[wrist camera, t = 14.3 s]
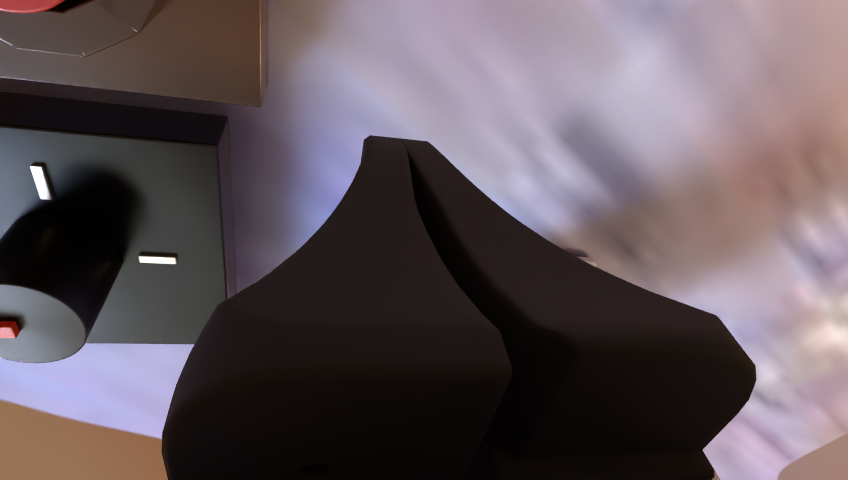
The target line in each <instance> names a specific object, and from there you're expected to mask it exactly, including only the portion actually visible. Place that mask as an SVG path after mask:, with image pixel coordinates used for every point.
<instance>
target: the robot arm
mask: <svg viewBox="0 0 848 480" xmlns="http://www.w3.org/2000/svg"><path fill="white" fill-rule="evenodd" d="M755 382H756V368H755V364H754V363H753V362H752V360H751V359H750V358H749V357H748V355H747V354H746V353H745V351H744V350H743V349H742V347H741V346H740V345H739V344H738V342H737V341H736V340H735V338H734V337H733V336H732V334H731V333H730V332H729V330H728V329H727V328H726V327H725V325H724V324H723V323H722V321H721V320H720V319H719V318H718V317H717V316H716V315H714V314H711V313H708V312H705V311H702V310H700V309H697V308H694V307H691V306H689V305H686V304H683V303H680V302H678V301H675V300H672V299H669V298H667V297H664V296H661V295H658V294H656V293H653V292H650V291H648V290H646V289H643V288H641V287H639V286H636V285H634V284H632V283H630V282H627V281H625V280H623V279H620V278H618V277H616V276H614V275H611V274H609V273H607V272H605V271H603V270H601V269H599V268H597V264H596V262H595V260H594V259H593V258H590V257H576V256H574V255H572V254H571V253H569V252H567V251H565V250H563V249H561V248H560V247H558V246H556V245H555V244H553V243H551V242H550V241H548V240H546V239H545V238H543V237H542V236H540V235H539V234H537V233H536V232H534V231H533V230H531V229H530V228H528V227H527V226H525V225H524V224H522V223H521V222H519V221H518V220H517V219H515V218H514V217H512V216H511V215H510V214H508V213H507V212H506V211H505V210H503V209H502V208H501V207H500V206H499V205H497V204H496V203H495V202H494V201H492V200H491V199H490V198H489V197H487V196H486V195H485V194H484V193H483V192H482V191H481V190H479V189H478V188H477V187H476V186H475V185H474V184H473V183H472V182H471V181H469V180H468V179H467V178H466V177H465V176H464V175H463V174H462V173H461V172H460V171H459V170H458V169H457V168H456V167H455V166H454V165H453V164H452V163H450V162H449V161H448V160H447V159H446V158H445V157H444V156H443V155H442V154H441V153H440V152H439V151H438V150H437V149H436V148H435V147H434V146H432V145H431V144H430V143H429V142H427V141H418V140H408V139H399V138H390V137H380V136H371V135H370V136H369V137H367V138H366V139H364V142H363V150H362V158H361V164H360V166H359V169H358V171H357V173H356V175H355V178H354V180H353V182H352V183H351V185H350V187H349V188H348V190H347V192H346V193H345V195H344V197H343V198H342V200H341V202H340V203H339V205H338V206H337V207H336V209H335V210H334V211H333V213H332V214H331V215H330V217H329V218H328V219H327V220H326V221H325V223H324V224H323V225H322V226H321V227H320V228H319V229H318V231H317V232H316V233H315V234H314V235H313V236H312V237H311V238H310V239H309V240H308V241H307V242H306V243H305V244H304V245H303V246H302V247H301V248H300V249H299V250H297V251H296V252H295V253H294V254H293V255H291V256H290V257H289V258H288V259H286V260H285V261H284V262H283V263H281V264H280V265H279V266H278V267H276V268H275V269H274V270H273V271H271V272H270V273H269V274H267V275H266V276H265V277H263V278H262V279H260V280H259V281H257V282H255V283H254V284H252V285H250V286H249V287H247V288H245V289H244V290H242V291H240V292H239V293H237V294H235V295H234V296H232V297H230V298H228V299H226V300H224V301H223V302H221V303H220V304H218V305H217V307H216V308H215V310H214V312H213V313H212V315H211V317H210V318H209V320H208V322H207V323H206V325H205V327H204V328H203V330H202V332H201V333H200V335H199V337H198V339H197V341H196V343H195V345H194V347H193V348H192V350H191V352H190V354H189V357H188V359H187V361H186V363H185V366H184V368H183V370H182V372H181V375H180V377H179V380H178V382H177V384H176V387H175V390H174V394H173V397H172V401H171V404H170V408H169V411H168V415H167V418H166V422H165V426H164V429H163V433H162V456H163V460H164V464H165V469H166V473H167V477H168V480H720V479H719V477H718V475H717V473H716V472H715V470H714V468H713V467H712V465H711V463H710V462H709V460H708V459H707V457H706V455H705V454H704V452H703V449H704V448H705V447H706V446H707V445H708V443H709V442H710V441H711V440H712V439H713V438H714V437H715V436H716V435H717V434H718V433H719V432H720V431H721V430H722V429H723V428H724V427H725V426H726V425H727V424H728V423H729V422H730V421H731V420H732V419H733V418H734V417H735V416H736V415H737V414H738V413H739V411H740V410H741V409H742V408H743V406H744V405H745V404H746V402H747V401H748V400H749V398H750V395H751V393H752V390H753V388H754V385H755Z"/></svg>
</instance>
